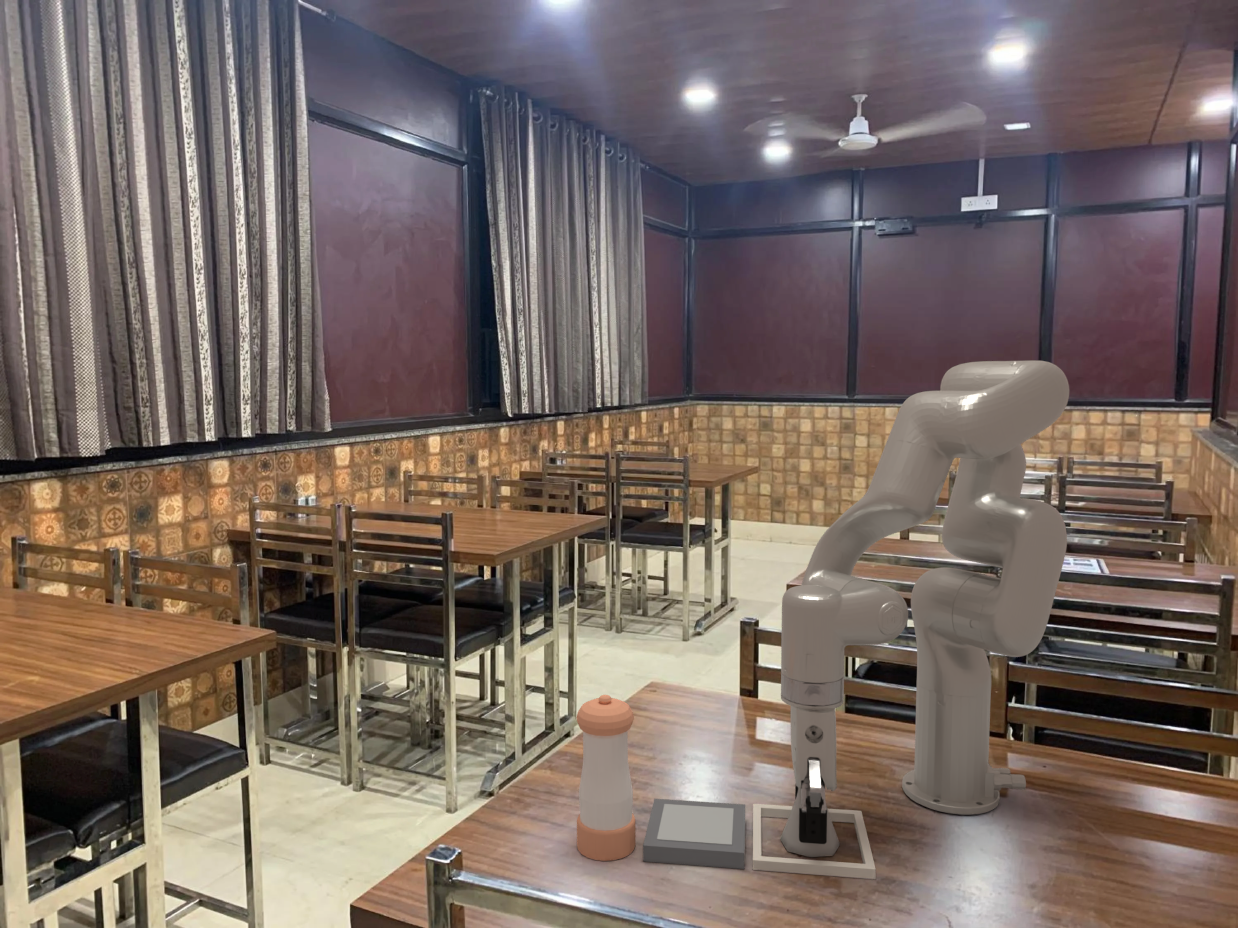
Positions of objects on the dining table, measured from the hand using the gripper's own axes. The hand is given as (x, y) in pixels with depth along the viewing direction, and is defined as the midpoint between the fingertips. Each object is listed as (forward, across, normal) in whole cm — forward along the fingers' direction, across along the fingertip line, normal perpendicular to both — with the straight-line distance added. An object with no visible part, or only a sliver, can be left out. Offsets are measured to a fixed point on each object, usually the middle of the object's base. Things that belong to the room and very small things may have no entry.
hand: (810, 821), depth 109 cm
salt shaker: (+3, -4, +25) cm, 25 cm away
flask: (+3, 0, 0) cm, 3 cm away
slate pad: (+3, -1, +14) cm, 14 cm away
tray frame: (+3, 0, 0) cm, 3 cm away
